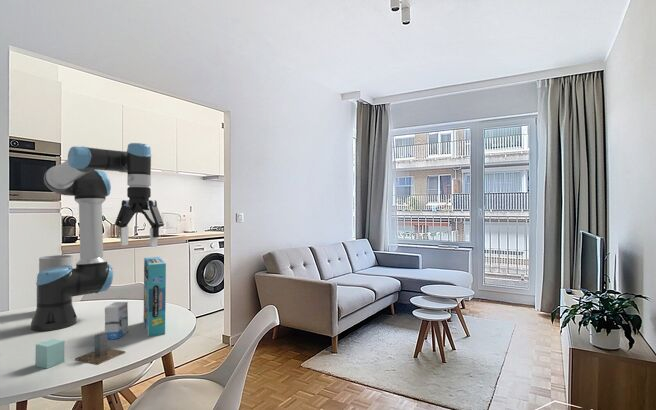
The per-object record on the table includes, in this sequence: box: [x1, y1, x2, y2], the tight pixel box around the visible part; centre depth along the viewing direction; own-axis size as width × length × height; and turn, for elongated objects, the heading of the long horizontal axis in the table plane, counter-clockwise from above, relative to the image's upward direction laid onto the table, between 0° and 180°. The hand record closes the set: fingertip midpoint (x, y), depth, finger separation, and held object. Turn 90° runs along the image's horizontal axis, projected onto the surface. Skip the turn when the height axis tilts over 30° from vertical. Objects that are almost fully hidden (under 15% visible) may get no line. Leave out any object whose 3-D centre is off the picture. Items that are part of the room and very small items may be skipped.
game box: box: [143, 256, 167, 337], centre depth 151 cm, size 20×6×27 cm, turn 30°
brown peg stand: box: [74, 332, 127, 365], centre depth 123 cm, size 10×10×7 cm
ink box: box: [104, 301, 129, 340], centre depth 142 cm, size 9×5×12 cm, turn 5°
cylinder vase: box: [38, 254, 74, 273], centre depth 174 cm, size 12×12×25 cm
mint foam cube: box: [34, 338, 65, 369], centre depth 117 cm, size 5×5×7 cm
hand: (138, 246), depth 136 cm, fingers open, 13 cm apart
